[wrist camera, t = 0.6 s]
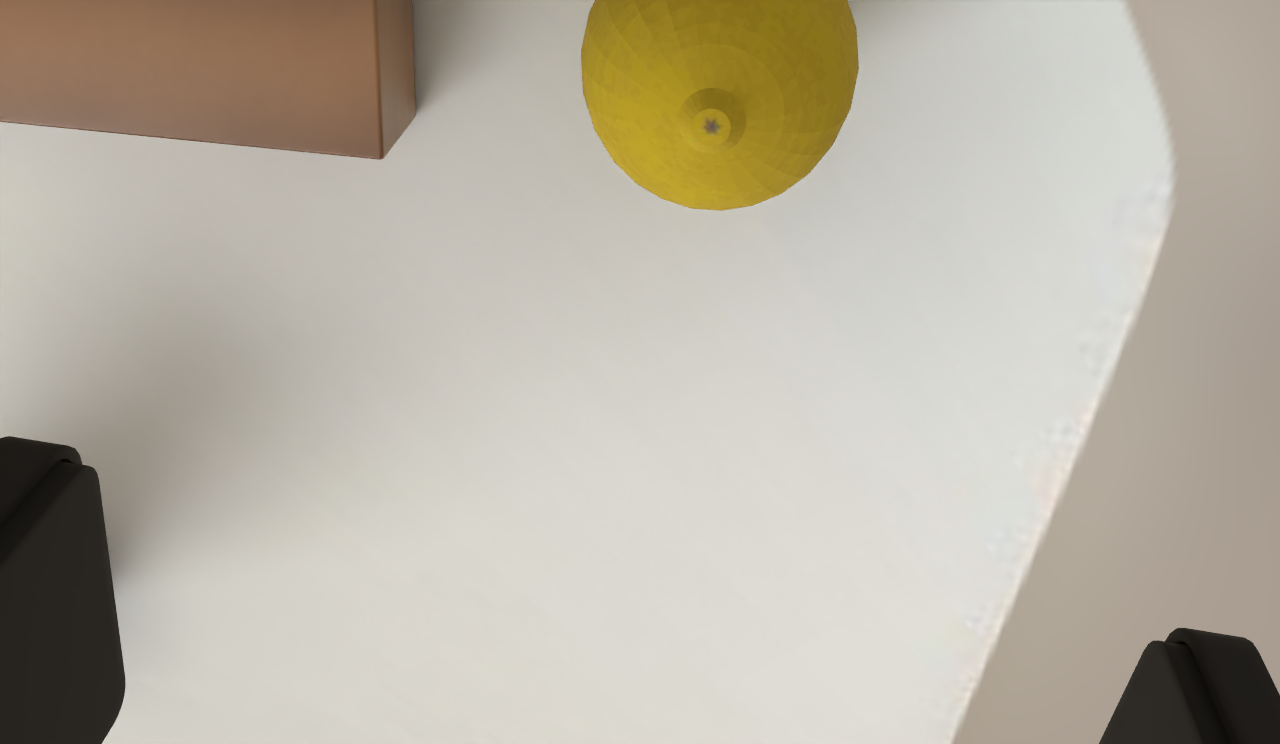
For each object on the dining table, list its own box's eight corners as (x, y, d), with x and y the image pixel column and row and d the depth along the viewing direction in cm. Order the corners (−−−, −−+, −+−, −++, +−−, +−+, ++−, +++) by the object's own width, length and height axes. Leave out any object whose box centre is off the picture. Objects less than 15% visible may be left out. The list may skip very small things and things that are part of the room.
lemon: (895, 27, 27) (936, 151, 21) (707, 170, 30) (688, 325, 23) (745, -175, 26) (736, -111, 19) (556, -6, 28) (487, 105, 21)
